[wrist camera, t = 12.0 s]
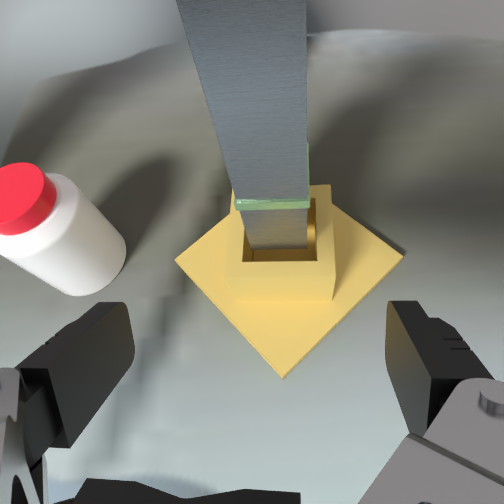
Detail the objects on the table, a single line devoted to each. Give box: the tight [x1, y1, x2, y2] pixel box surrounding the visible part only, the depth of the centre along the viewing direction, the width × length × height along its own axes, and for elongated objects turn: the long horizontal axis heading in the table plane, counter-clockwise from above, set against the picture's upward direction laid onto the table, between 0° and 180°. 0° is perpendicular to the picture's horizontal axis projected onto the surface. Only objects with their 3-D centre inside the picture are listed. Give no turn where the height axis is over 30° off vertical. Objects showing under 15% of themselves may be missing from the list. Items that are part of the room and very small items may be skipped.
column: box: [176, 0, 310, 250], centre depth 19 cm, size 6×5×19 cm
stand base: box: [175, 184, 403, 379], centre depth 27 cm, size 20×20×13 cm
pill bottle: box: [0, 162, 126, 296], centre depth 31 cm, size 8×8×11 cm
